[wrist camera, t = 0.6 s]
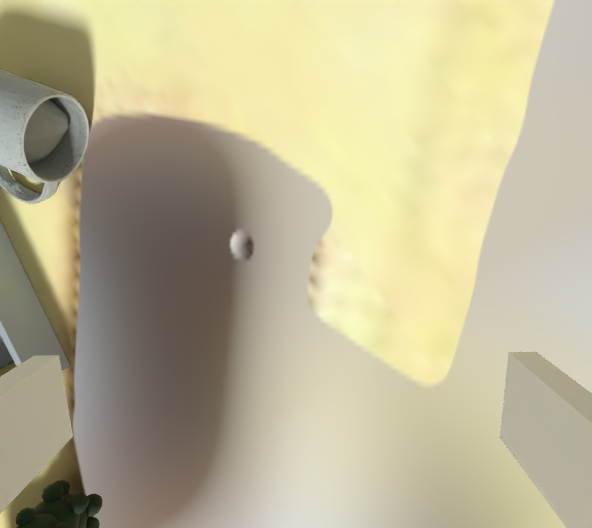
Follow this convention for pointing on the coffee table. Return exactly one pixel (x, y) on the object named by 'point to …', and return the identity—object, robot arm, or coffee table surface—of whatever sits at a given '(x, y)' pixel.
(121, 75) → the coffee table surface
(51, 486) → the toy figurine
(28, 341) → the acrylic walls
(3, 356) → the slate coaster
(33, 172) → the ceramic mug
